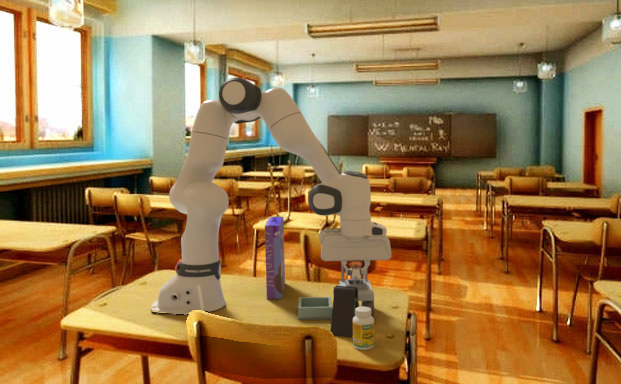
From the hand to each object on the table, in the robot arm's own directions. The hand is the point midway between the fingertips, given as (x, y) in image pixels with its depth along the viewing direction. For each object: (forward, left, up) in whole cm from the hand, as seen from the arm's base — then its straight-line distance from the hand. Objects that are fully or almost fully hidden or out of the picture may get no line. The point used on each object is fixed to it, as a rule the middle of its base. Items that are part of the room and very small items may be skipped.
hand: (355, 275), depth 156 cm
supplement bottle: (0, -23, -12) cm, 26 cm away
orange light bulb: (0, 0, -4) cm, 4 cm away
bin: (-12, +1, -12) cm, 17 cm away
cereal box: (-25, +24, -12) cm, 36 cm away
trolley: (0, 0, -12) cm, 12 cm away
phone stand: (-4, -13, -12) cm, 18 cm away
